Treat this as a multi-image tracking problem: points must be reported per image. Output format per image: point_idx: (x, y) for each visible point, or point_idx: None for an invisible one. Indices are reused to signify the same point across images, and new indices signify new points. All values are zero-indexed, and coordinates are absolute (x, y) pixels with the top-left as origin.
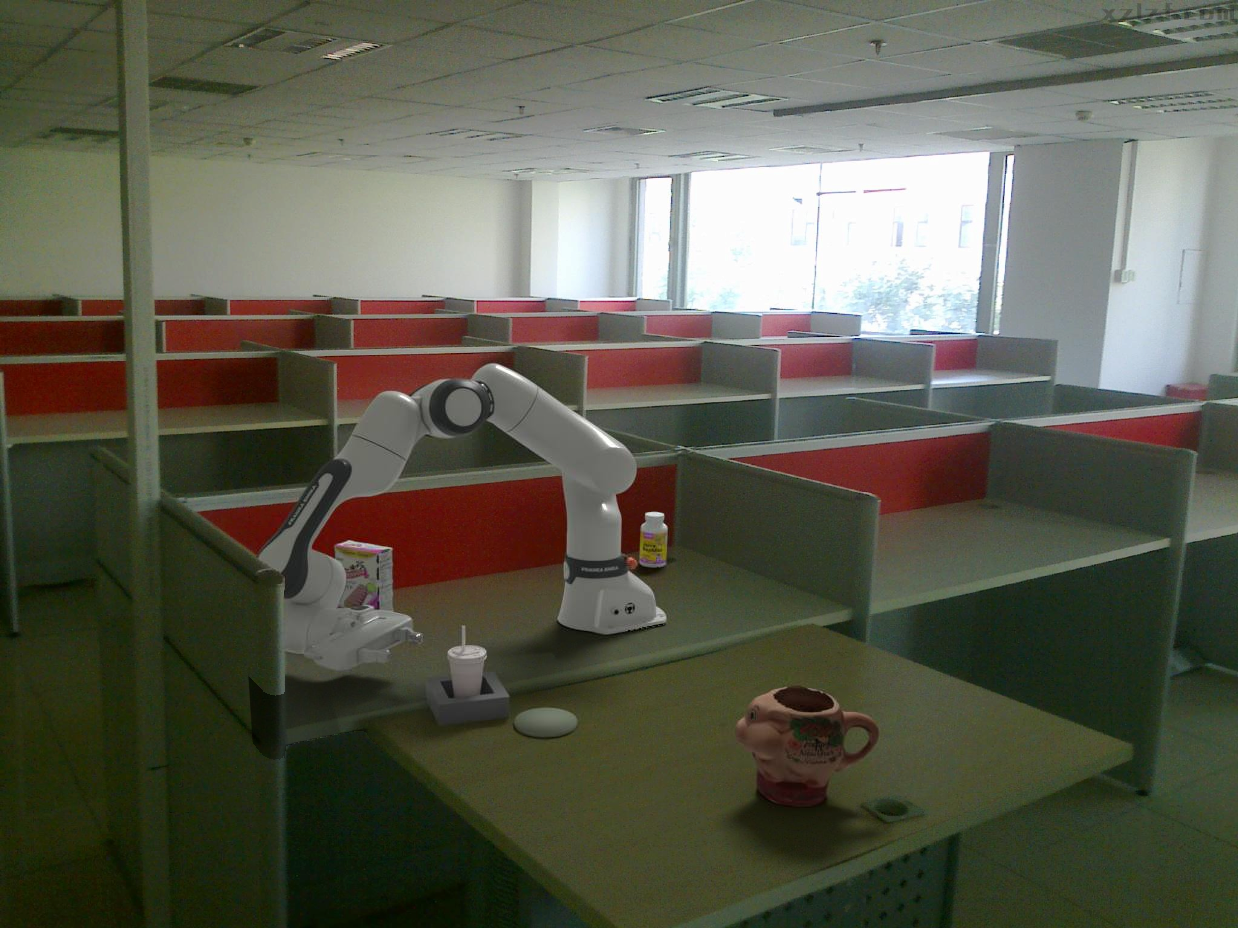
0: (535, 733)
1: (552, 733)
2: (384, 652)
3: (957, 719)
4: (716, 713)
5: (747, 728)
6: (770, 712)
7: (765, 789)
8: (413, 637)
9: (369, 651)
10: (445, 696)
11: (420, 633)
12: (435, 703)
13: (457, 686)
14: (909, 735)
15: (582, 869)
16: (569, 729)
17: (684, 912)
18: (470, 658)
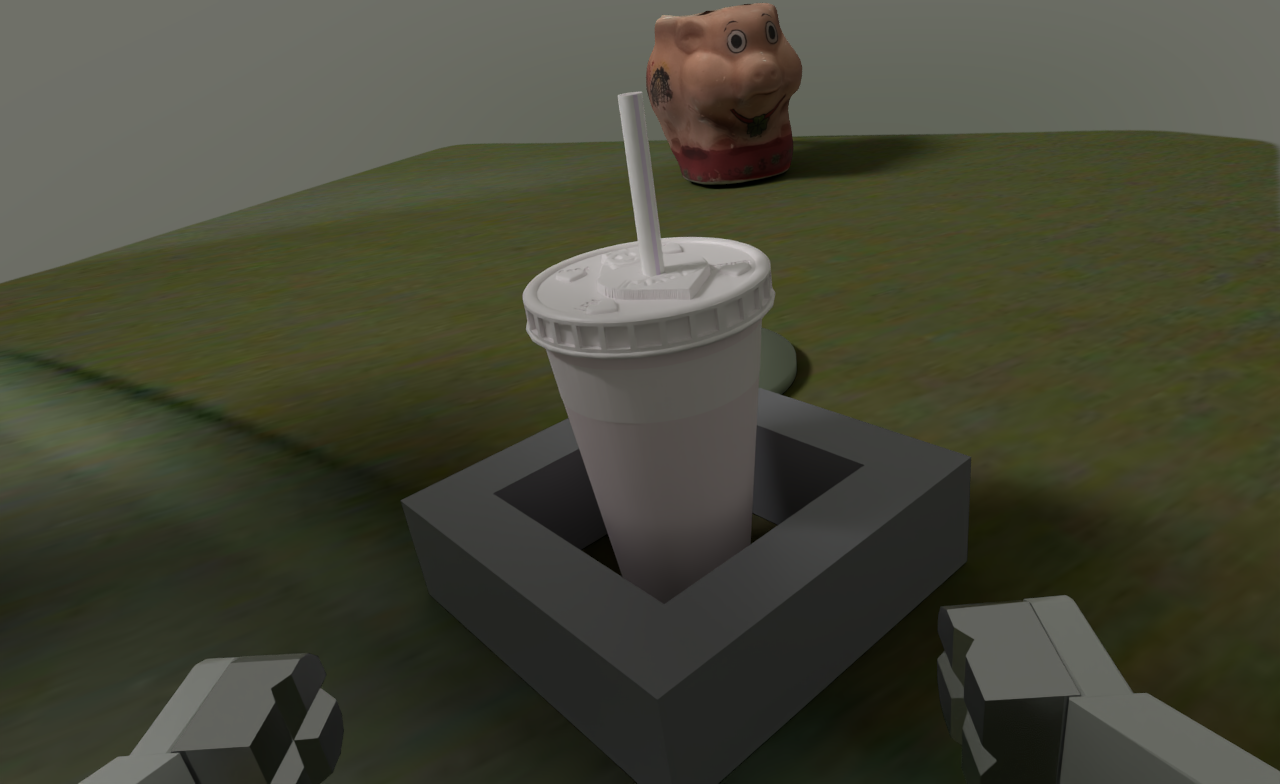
0: (792, 346)
1: (763, 329)
2: (1050, 601)
3: (403, 182)
4: (461, 264)
5: (777, 58)
6: (775, 12)
7: (788, 154)
8: (285, 723)
9: (1251, 759)
10: (852, 485)
11: (211, 661)
12: (911, 533)
13: (754, 451)
14: (476, 183)
15: (1216, 174)
16: None
17: (1154, 133)
18: (730, 242)
